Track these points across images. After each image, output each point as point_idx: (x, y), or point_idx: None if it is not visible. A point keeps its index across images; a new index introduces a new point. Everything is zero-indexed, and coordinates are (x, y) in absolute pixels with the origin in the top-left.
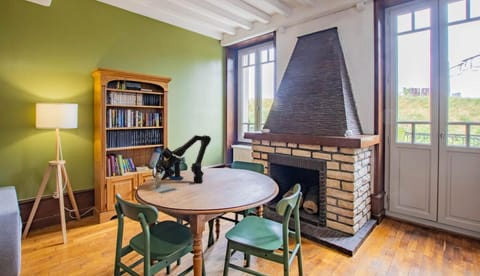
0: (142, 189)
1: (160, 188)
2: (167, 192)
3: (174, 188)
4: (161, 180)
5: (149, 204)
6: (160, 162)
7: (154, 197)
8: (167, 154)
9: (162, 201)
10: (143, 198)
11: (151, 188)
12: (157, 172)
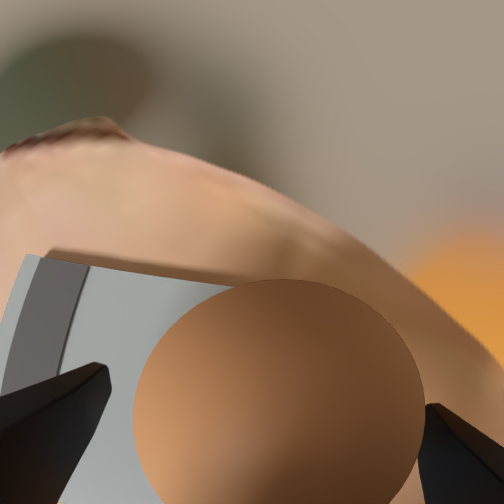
0: (415, 298)
1: None
2: (13, 308)
3: None
4: (104, 381)
5: (53, 131)
6: None
7: (85, 204)
8: None
9: (5, 191)
10: (151, 151)
11: None
12: (400, 461)
